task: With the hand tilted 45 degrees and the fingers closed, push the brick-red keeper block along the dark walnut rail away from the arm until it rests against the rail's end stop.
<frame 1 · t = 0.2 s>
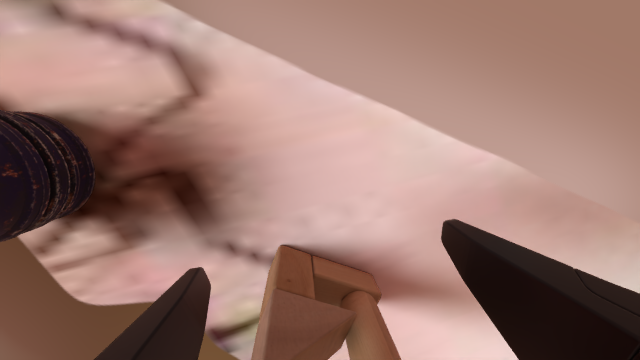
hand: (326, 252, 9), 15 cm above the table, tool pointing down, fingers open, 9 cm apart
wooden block: (320, 271, 27), on the table
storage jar: (38, 167, 22), on the table
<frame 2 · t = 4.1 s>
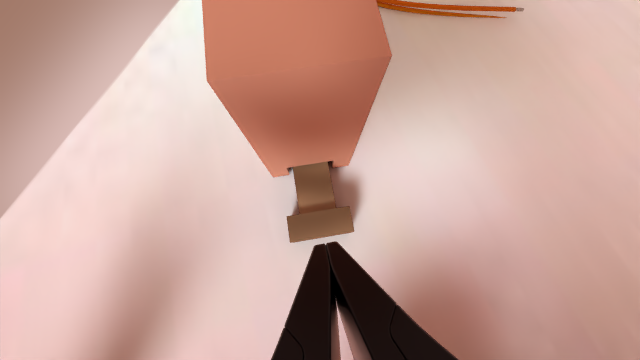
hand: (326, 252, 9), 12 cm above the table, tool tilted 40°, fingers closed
rail: (307, 147, 23), on the table
keeper: (302, 107, 16), point 7 cm above the table, slide at 0.0 cm
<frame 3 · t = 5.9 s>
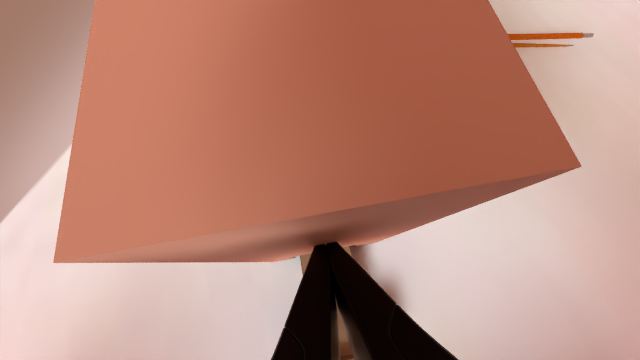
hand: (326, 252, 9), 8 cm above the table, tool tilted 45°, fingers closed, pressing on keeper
rail: (321, 235, 17), on the table
keeper: (314, 186, 10), point 7 cm above the table, slide at 1.4 cm, touching gripper
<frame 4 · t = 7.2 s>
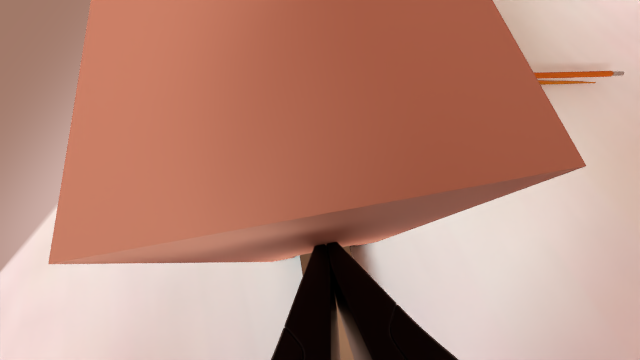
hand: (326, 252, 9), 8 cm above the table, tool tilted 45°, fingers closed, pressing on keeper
rail: (335, 309, 15), on the table
motor: (474, 4, 24), on the table
keeper: (314, 185, 10), point 7 cm above the table, slide at 6.0 cm, touching gripper
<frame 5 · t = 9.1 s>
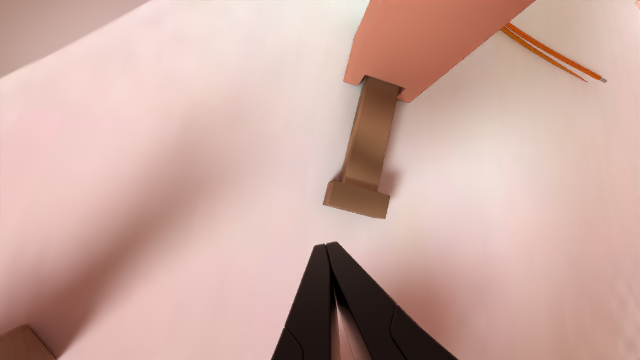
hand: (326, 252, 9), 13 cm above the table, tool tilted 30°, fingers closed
rail: (368, 126, 24), on the table
keeper: (420, 17, 18), point 7 cm above the table, slide at 6.0 cm
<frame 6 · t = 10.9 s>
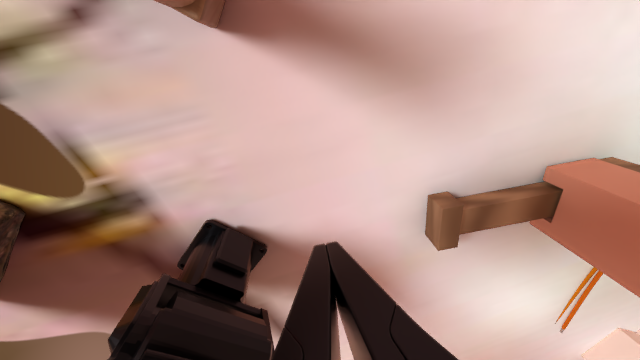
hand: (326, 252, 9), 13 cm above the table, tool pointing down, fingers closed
rail: (503, 201, 26), on the table
motor: (635, 276, 36), on the table
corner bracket: (622, 339, 44), on the table
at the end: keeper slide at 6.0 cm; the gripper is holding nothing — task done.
